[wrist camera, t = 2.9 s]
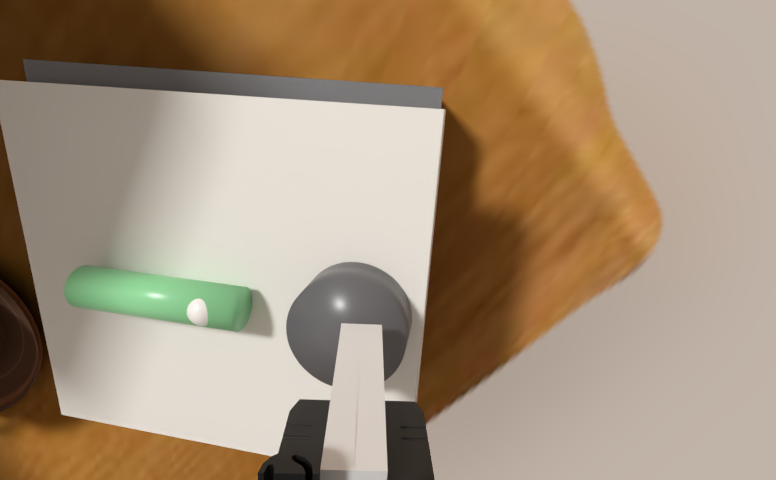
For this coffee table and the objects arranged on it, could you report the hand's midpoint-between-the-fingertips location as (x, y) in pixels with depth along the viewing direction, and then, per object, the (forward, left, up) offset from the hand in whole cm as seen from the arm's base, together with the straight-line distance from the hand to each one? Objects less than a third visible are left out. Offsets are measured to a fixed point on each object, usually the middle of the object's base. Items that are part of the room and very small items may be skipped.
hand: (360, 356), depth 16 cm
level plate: (-7, 0, -6) cm, 9 cm away
